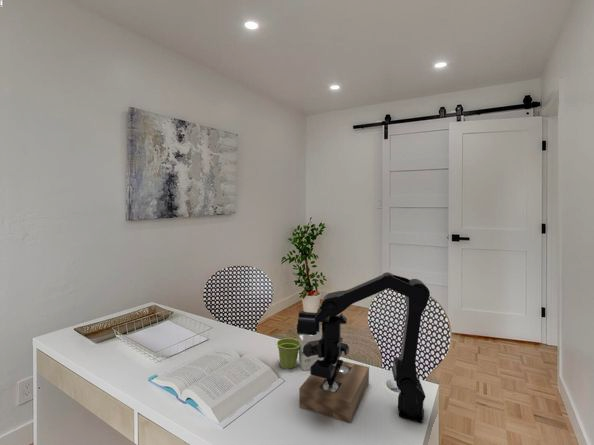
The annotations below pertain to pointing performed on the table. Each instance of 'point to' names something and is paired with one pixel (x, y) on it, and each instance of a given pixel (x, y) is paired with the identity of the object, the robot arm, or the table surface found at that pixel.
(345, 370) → the peg far
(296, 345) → the plant pot
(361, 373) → the walnut block
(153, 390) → the table surface
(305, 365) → the ink cartridge box
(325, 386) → the peg near
